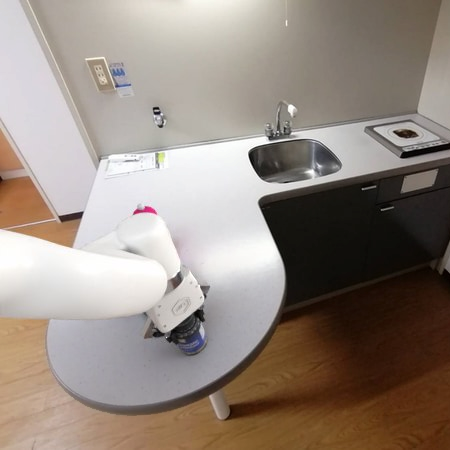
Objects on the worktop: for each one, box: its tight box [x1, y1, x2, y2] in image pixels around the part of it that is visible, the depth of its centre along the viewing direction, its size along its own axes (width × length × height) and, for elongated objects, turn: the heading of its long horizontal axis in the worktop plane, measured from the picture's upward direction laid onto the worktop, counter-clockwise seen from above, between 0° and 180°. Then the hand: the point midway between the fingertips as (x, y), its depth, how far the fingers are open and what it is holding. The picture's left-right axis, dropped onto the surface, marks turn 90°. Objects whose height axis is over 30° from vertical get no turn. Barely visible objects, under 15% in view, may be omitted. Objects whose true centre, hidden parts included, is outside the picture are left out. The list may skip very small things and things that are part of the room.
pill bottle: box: [171, 313, 208, 356], centre depth 67 cm, size 6×6×11 cm
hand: (186, 328), depth 67 cm, fingers closed on pill bottle, 6 cm apart
